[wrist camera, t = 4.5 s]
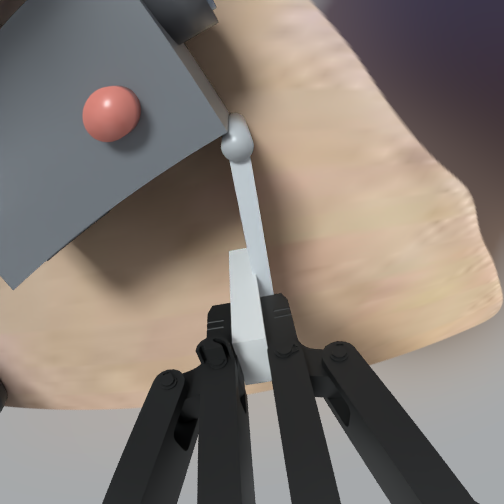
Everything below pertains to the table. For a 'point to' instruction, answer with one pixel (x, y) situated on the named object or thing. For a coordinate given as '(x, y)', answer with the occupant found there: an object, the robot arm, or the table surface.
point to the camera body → (93, 114)
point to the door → (247, 197)
